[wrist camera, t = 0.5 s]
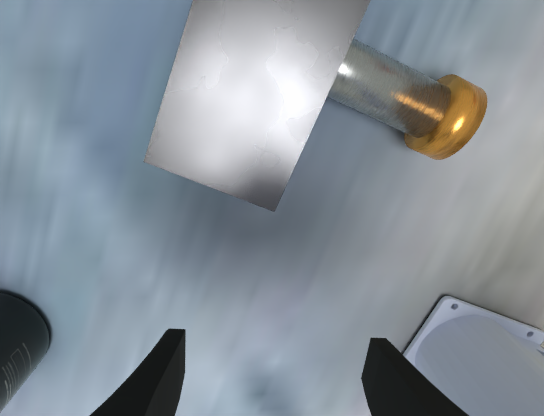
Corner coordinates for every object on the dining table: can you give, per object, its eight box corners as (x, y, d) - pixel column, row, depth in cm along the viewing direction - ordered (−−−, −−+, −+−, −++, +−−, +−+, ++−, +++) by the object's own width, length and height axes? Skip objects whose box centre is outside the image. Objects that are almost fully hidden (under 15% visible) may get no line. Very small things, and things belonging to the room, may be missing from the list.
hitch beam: (378, -76, 16) (441, -157, 11) (268, 178, 21) (274, 211, 15) (267, -142, 15) (275, -269, 10) (173, 140, 19) (143, 161, 14)
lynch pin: (453, 86, 19) (503, 86, 15) (416, 152, 20) (454, 167, 16) (247, -19, 16) (245, -50, 13) (219, 61, 18) (210, 55, 14)
